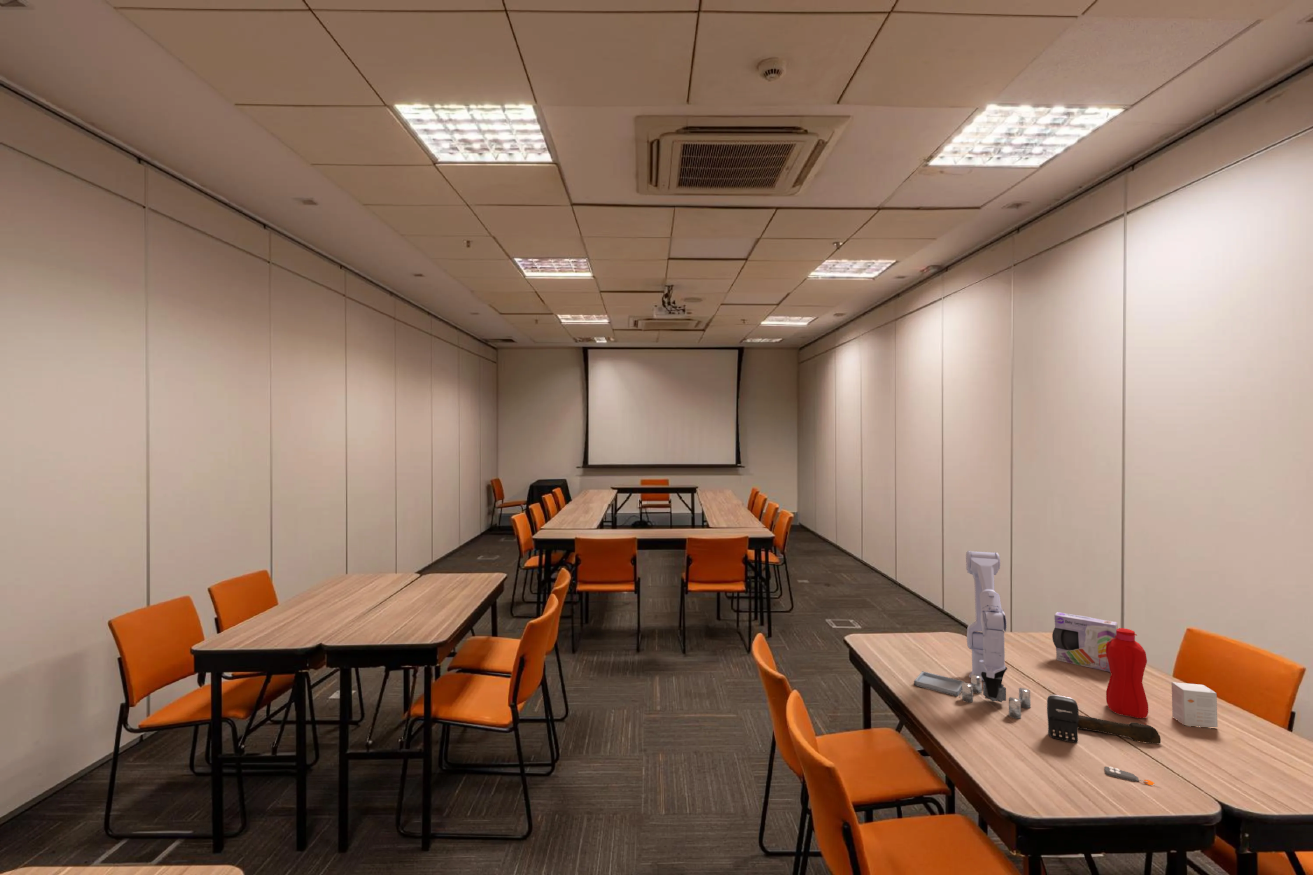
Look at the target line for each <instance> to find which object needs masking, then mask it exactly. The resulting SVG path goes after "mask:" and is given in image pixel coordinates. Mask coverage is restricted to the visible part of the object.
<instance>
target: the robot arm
mask: <svg viewBox="0 0 1313 875" xmlns="http://www.w3.org/2000/svg"><path fill="white" fill-rule="evenodd" d="M965 563H966V564H965V567H966V568H965V569H966V571H967V573H968V574H970V575H972V577H973V582H974V604H975V605H974V606H975V607H974V609H975V621H974V622H972V623H970V624H969V625H968V626H967V628H966V630H967V631H966V643H967V647H968V648H969V650H971V672H970V673H969V675H968V678H970V679H971V675H972V674H976V675H980V676H981V677H982V682H985V684H986V688H987V692H988V696H989V697H993V698H997V695H998V689H999V685H1000V684H1003V678H1004V675H1005V673H1006V672H1007V670H1008V668H1007V666H1006V663H1005V661H1006V660H1005V658H1006V657H1005V656H1006V654H1005V653H1006V652H1005V651H1006V650H1005V649H1006V648H1005V632H1007V627H1008V624H1007V623H1008V622H1007V617H1006V613H1005V612H1004V609H1003V608H1002V602H1001V596H1000V593H998V592H996V591H995V576H996V575H997V574H998V572H999V571H1000V569H1001V556H1000V554H999V552H998V551H997V552H996V551H995V552H992V551H991V552H990V551H976V550H974V551H972V550H967V551H966V553H965Z"/></svg>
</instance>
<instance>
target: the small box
mask: <svg viewBox="0 0 1313 875" xmlns="http://www.w3.org/2000/svg"><path fill="white" fill-rule="evenodd" d="M1171 708H1172V709H1171V711H1172V712H1171V714H1172V718H1173V717H1174V718H1173V719H1175V720H1176V719H1177V720H1178V721H1177V720H1176V721H1177V722H1179V723H1180V722H1181V723H1182V725H1183V724H1184V725H1188V726H1187V727H1191V726H1198V727H1197V728H1201V727H1218V726H1219V725H1218V696H1217V692H1215V691H1214V690H1213V689H1211V688H1209V687H1207V686H1206V685H1204V684H1199V683H1198V684H1196V683H1186V682H1174V681H1172V682H1171ZM1181 723H1180V724H1181ZM1184 725H1183V726H1184ZM1199 726H1200V727H1199ZM1218 728H1219V727H1218Z"/></svg>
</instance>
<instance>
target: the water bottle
mask: <svg viewBox="0 0 1313 875" xmlns="http://www.w3.org/2000/svg"><path fill="white" fill-rule="evenodd" d="M1136 636H1137V634H1136V632H1135V630H1132V629H1128V628H1125V627H1120V628H1118V629H1117V630H1116V635H1114V638H1112V639H1111V640H1109V641H1108V642H1107V643H1106V644H1105V645H1106V659H1108V663H1109V668H1110V672H1109V673H1110V676H1109V680H1108V683H1107V688H1106V689H1105V690H1106V691H1105V699H1106V704H1107V706H1108V709H1109V710H1110V711H1111V712H1113V713H1115V714H1117V715H1119V716H1125V717H1130V718H1131V717H1132V718H1136V719H1138V720H1139V719H1145V718H1147V717H1148V714H1149V702H1148V699H1147V696H1146V691H1145V687H1144V684H1143V680H1144V675H1145V674H1144V673H1145V671H1146V668H1147V667H1146V666H1147V663H1148V659H1147V653H1146V650H1145V649H1144V647H1143V645H1141V644H1140V643H1139V642H1137V640H1136ZM1105 645H1104V646H1105ZM1103 648H1104V647H1103ZM1102 651H1103V649H1102ZM1101 654H1102V652H1101ZM1100 657H1101V655H1100ZM1099 664H1100V660H1099ZM1100 667H1101V666H1100ZM1106 667H1107V665H1106ZM1106 667H1105V668H1106ZM1105 668H1102V669H1105Z"/></svg>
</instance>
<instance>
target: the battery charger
mask: <svg viewBox="0 0 1313 875" xmlns="http://www.w3.org/2000/svg"><path fill="white" fill-rule="evenodd" d="M1046 698H1047V699H1046V715H1047V716H1046V717H1047V734H1048V736H1049V737H1050V738H1052V739H1055V740H1059V741H1065V742H1069V743H1078V742H1079V741H1078V740H1079V739H1078V738H1079V735H1078V732H1079V731H1078V730H1079V728H1078V721H1079V715H1080V714H1079V706H1078V702H1077V701H1076V699H1074V698H1072V697H1070V696H1064V695H1059V694H1049V695H1048V696H1047V697H1046Z"/></svg>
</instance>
